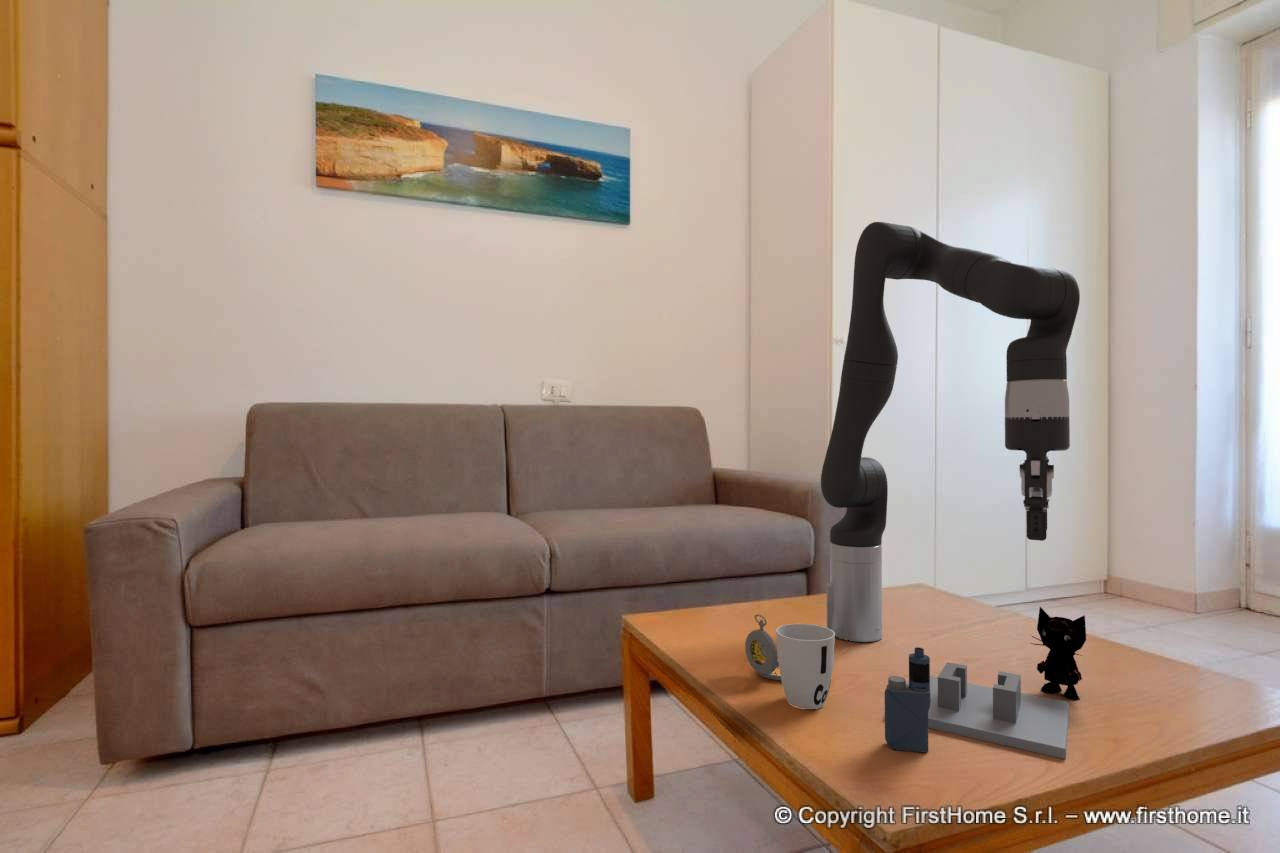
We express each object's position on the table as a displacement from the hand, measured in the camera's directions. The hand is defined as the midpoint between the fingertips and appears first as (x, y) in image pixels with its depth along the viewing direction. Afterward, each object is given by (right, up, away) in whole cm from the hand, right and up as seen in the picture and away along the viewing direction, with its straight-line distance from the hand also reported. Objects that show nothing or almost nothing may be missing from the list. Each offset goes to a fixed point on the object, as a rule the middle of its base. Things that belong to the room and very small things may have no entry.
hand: (1037, 535), depth 90 cm
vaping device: (-21, -25, -9) cm, 33 cm away
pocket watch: (-33, -25, +15) cm, 44 cm away
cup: (-30, -25, +4) cm, 39 cm away
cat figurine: (+8, -25, +8) cm, 27 cm away
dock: (-8, -24, 0) cm, 25 cm away
